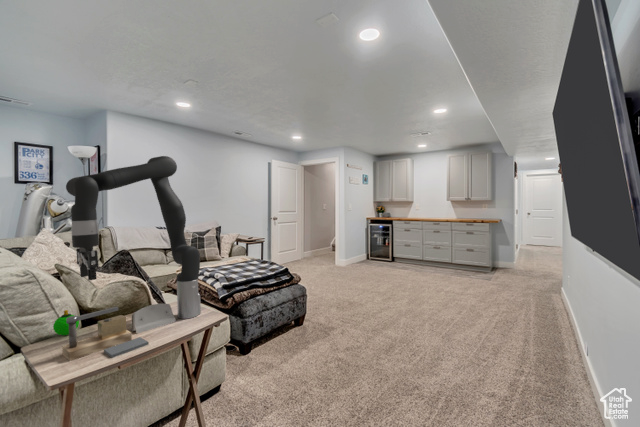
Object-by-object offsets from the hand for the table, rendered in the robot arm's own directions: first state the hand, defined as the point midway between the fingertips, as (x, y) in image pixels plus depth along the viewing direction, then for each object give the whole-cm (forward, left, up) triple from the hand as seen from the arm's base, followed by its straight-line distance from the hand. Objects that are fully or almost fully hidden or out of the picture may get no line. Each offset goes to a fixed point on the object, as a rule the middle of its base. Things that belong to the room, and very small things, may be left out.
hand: (88, 278), depth 106 cm
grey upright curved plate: (-24, -6, -27) cm, 37 cm away
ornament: (+1, -26, -27) cm, 37 cm away
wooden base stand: (-3, -2, -27) cm, 27 cm away
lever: (-2, -2, -15) cm, 15 cm away
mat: (-8, +8, -27) cm, 29 cm away
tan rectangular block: (-7, -2, -24) cm, 25 cm away
